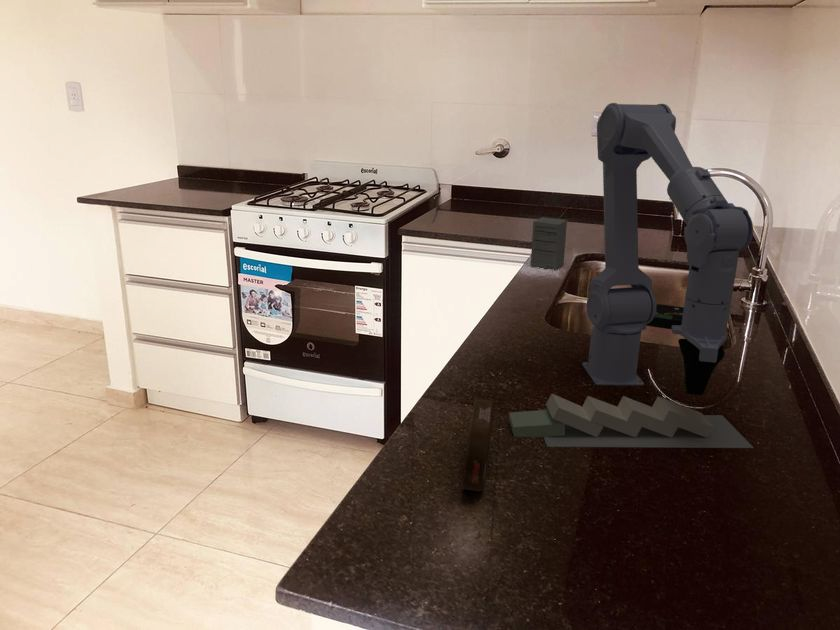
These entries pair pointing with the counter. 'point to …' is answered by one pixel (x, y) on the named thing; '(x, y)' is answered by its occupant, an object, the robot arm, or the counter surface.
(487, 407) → the dark translucent bar
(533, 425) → the domino
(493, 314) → the counter surface
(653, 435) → the mat
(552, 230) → the grey drawer cabinet
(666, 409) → the domino
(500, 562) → the counter surface
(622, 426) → the domino
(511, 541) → the counter surface
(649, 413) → the domino
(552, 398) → the domino
